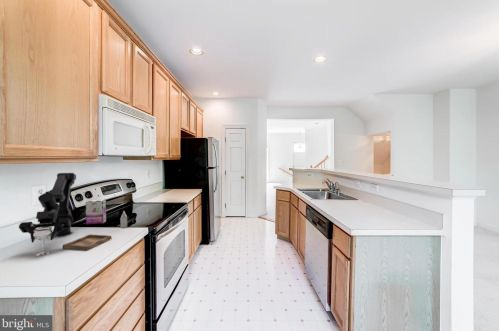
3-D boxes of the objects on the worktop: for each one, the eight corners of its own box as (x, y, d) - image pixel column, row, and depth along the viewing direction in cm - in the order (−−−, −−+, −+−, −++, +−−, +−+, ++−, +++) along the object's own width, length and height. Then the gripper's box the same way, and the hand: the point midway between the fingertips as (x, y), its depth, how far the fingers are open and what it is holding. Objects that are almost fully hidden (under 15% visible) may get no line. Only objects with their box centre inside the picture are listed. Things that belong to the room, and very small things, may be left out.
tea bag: (120, 228, 144) (120, 213, 144) (121, 225, 150) (120, 211, 150) (126, 227, 146) (126, 212, 146) (127, 224, 152) (127, 210, 152)
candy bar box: (106, 221, 159) (106, 199, 159) (103, 223, 154) (103, 200, 154) (89, 222, 157) (89, 200, 156) (85, 224, 152) (85, 201, 151)
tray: (89, 237, 126) (89, 234, 126) (111, 239, 124) (111, 235, 124) (62, 248, 110) (62, 245, 110) (87, 250, 108) (87, 246, 108)
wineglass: (40, 257, 101) (40, 231, 100) (29, 255, 102) (29, 230, 102) (56, 251, 107) (55, 227, 107) (45, 250, 109) (45, 226, 108)
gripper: (20, 206, 103) (7, 236, 94) (69, 202, 112) (62, 230, 102) (28, 218, 111) (17, 247, 101) (73, 214, 119) (67, 240, 109)
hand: (41, 241), depth 103 cm, fingers closed on wineglass, 6 cm apart
